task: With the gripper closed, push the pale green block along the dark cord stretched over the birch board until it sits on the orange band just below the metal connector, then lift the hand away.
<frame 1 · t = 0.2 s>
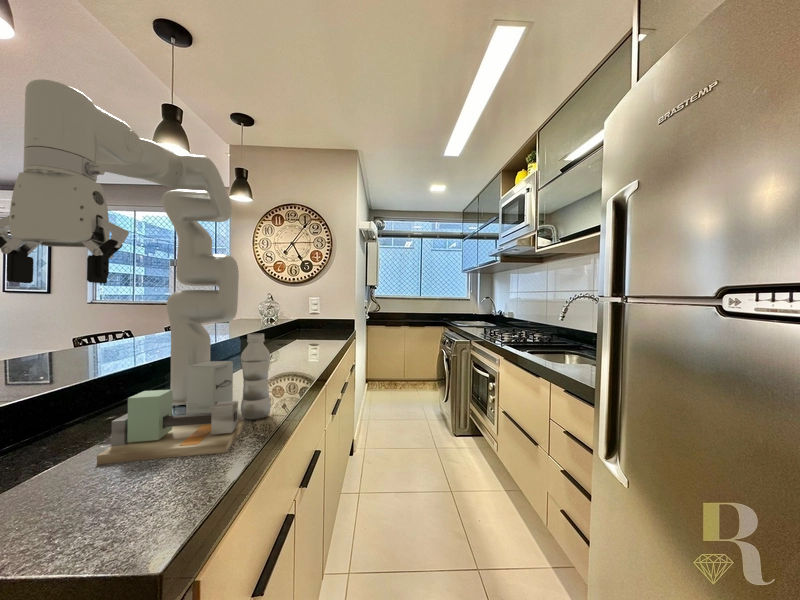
hand: (59, 282, 47), 30 cm above the worktop, tool pointing down, fingers open, 9 cm apart
pale green block: (151, 414, 60), point 6 cm above the worktop, slide at 0.0 cm
supplement box: (210, 414, 78), on the worktop
cable board: (180, 443, 61), on the worktop
plastic bottle: (256, 418, 75), on the worktop
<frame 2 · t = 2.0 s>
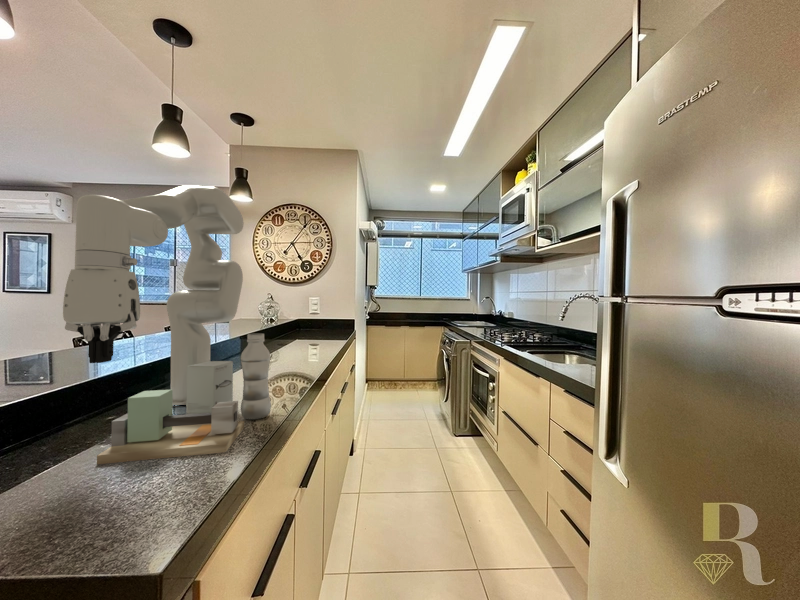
hand: (100, 361, 58), 17 cm above the worktop, tool pointing down, fingers closed
nothing on the worktop moved.
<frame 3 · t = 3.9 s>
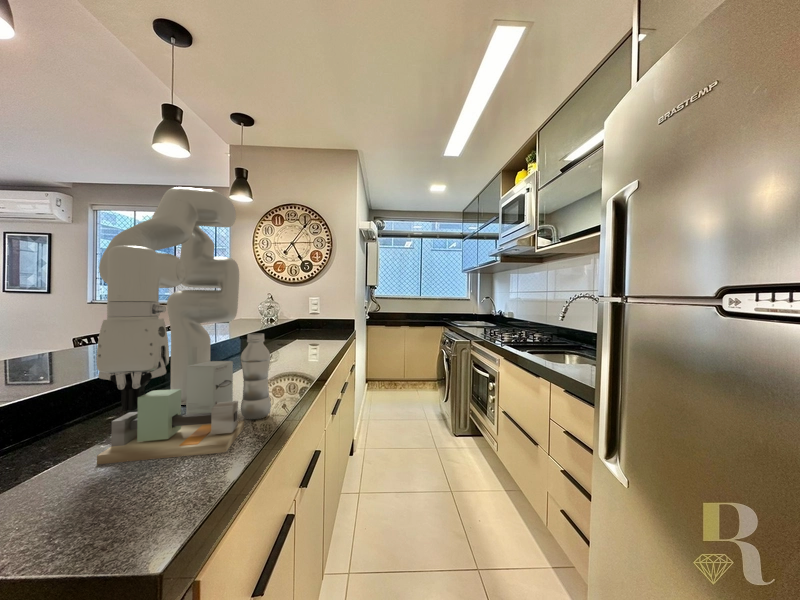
hand: (132, 408, 60), 7 cm above the worktop, tool pointing down, fingers closed
pale green block: (160, 413, 60), point 6 cm above the worktop, slide at 1.6 cm, touching gripper
everything else where it was.
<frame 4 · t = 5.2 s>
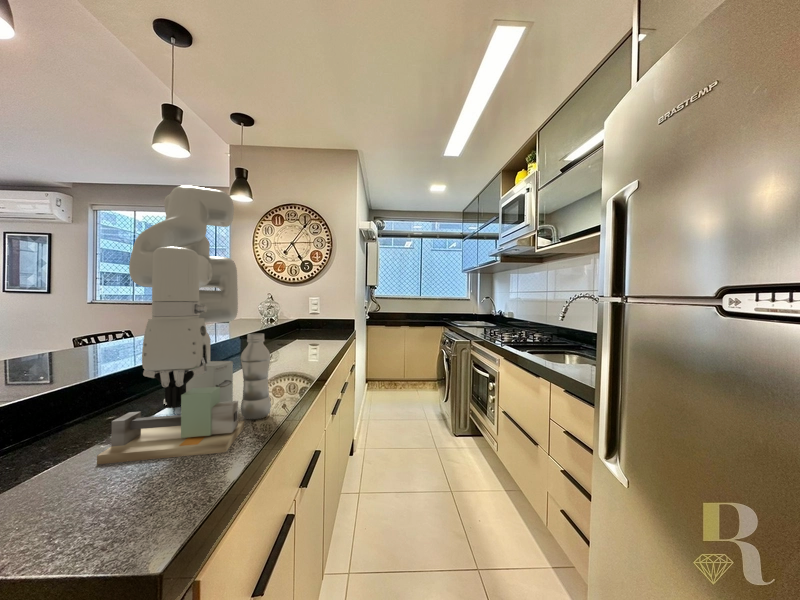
hand: (175, 405, 61), 7 cm above the worktop, tool pointing down, fingers closed
pale green block: (201, 411, 62), point 6 cm above the worktop, slide at 8.7 cm, touching cable board, gripper
everything else where it was.
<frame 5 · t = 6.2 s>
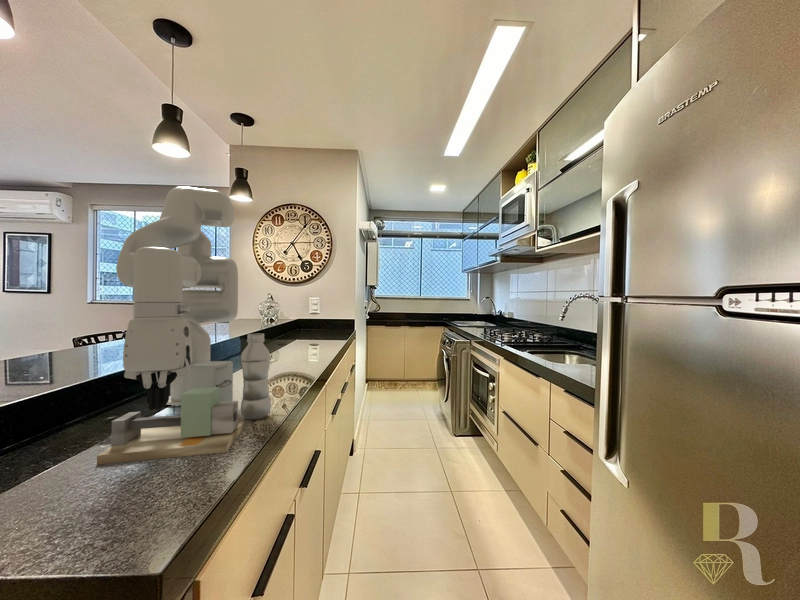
hand: (158, 407, 61), 7 cm above the worktop, tool pointing down, fingers closed
pale green block: (201, 411, 62), point 6 cm above the worktop, slide at 8.7 cm
everything else where it was.
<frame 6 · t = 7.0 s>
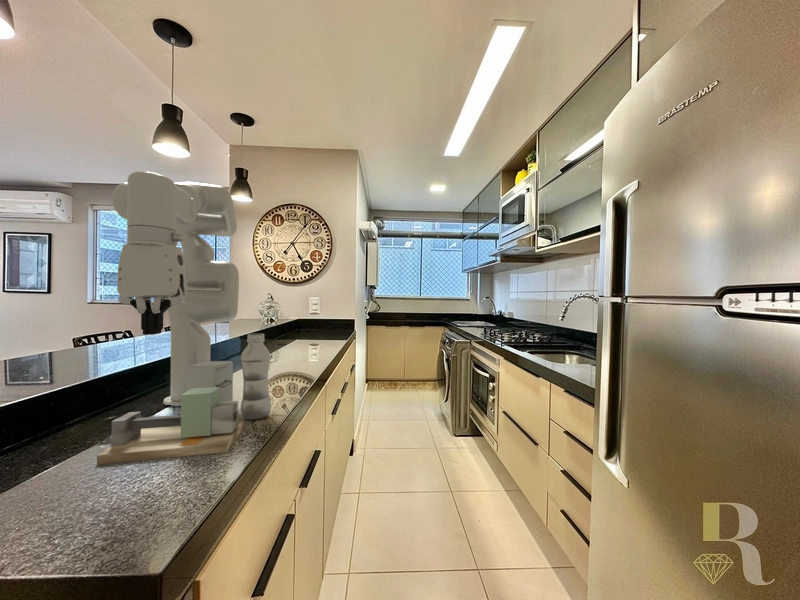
hand: (152, 333, 61), 21 cm above the worktop, tool pointing down, fingers closed
nothing on the worktop moved.
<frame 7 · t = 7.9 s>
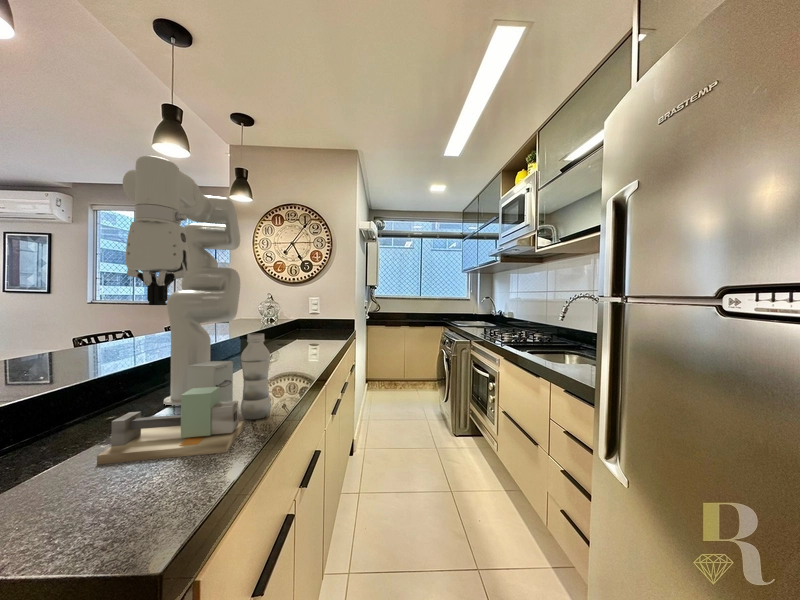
hand: (157, 304, 66), 27 cm above the worktop, tool pointing down, fingers closed
nothing on the worktop moved.
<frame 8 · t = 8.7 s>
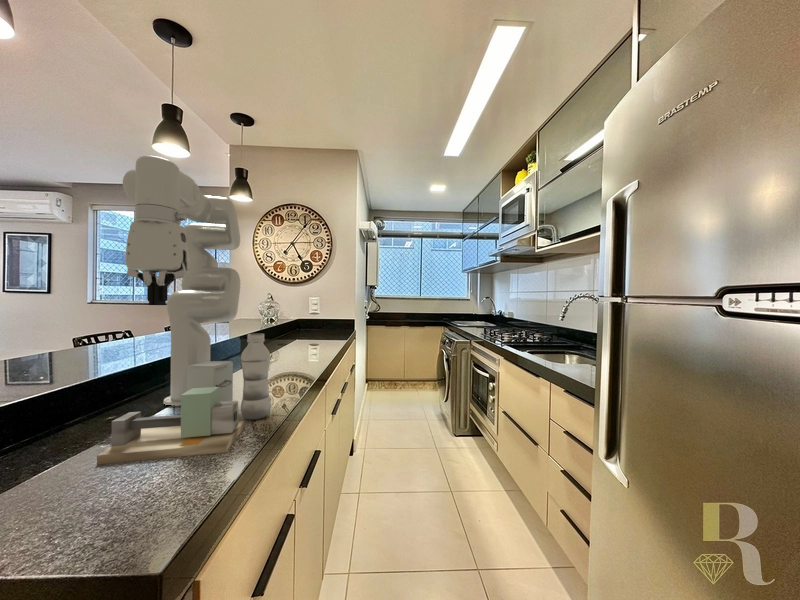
hand: (157, 304, 66), 27 cm above the worktop, tool pointing down, fingers closed
nothing on the worktop moved.
at the end: pale green block slide at 8.7 cm; plastic bottle moved 0.2 cm from its start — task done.
